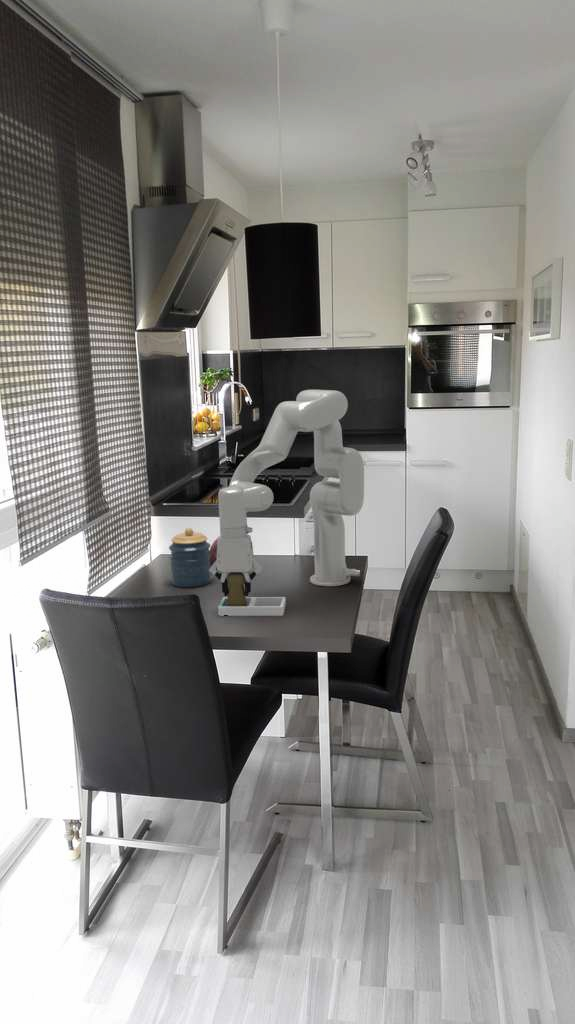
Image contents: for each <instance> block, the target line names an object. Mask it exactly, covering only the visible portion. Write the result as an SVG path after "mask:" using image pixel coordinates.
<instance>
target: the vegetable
mask: <svg viewBox="0 0 575 1024" xmlns="http://www.w3.org/2000/svg"><path fill="white" fill-rule="evenodd" d="M217 542H218V537H217V538H216V539H215V540H214V541H213V542H212V544H211V545H210V547H209V553H210V554H211V557H210V559H211V566H212V565H213V564H214V562H215V561H216V560H217ZM216 570H217V567H216ZM217 571H218V570H217Z"/></svg>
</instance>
